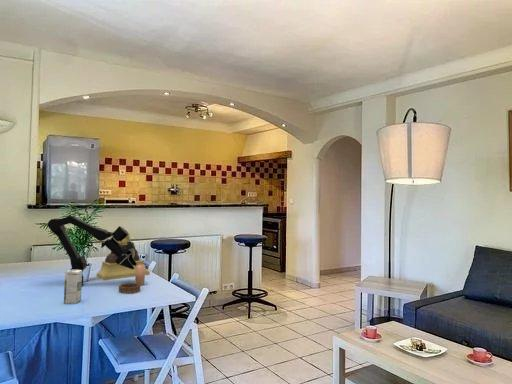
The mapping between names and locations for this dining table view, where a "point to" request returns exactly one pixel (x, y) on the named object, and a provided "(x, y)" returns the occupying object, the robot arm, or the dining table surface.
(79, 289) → the syrup box
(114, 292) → the dining table surface
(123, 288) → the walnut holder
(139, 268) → the terracotta canister
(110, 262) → the decorative clock
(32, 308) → the dining table surface
